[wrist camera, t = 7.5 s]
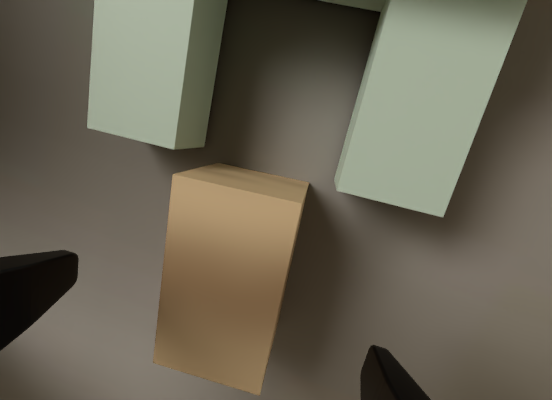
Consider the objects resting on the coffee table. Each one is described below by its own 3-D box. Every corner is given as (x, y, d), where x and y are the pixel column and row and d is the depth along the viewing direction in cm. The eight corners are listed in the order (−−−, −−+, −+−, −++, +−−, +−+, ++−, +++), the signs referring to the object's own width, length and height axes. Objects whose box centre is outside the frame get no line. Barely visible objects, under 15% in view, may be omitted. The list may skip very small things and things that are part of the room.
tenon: (277, 323, 14) (259, 395, 10) (199, 301, 14) (152, 362, 10) (309, 182, 12) (302, 203, 8) (219, 162, 13) (172, 174, 9)
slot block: (417, 200, 11) (466, 233, 7) (133, 129, 12) (47, 126, 9) (531, -117, 9) (696, -319, 5) (161, -164, 10) (58, -353, 6)
